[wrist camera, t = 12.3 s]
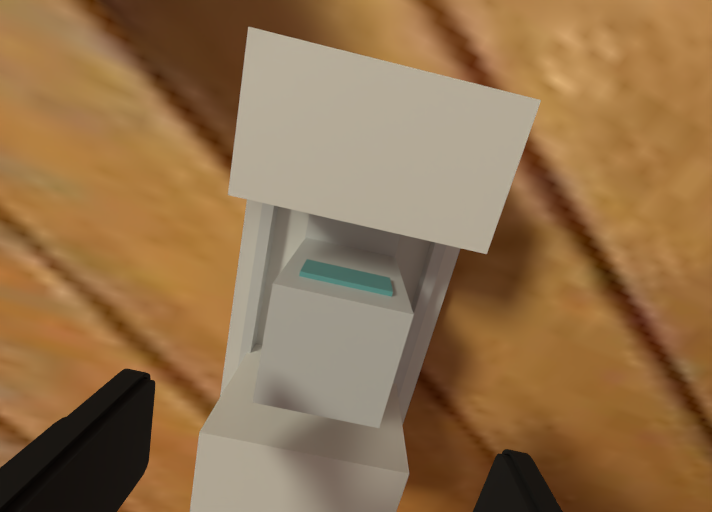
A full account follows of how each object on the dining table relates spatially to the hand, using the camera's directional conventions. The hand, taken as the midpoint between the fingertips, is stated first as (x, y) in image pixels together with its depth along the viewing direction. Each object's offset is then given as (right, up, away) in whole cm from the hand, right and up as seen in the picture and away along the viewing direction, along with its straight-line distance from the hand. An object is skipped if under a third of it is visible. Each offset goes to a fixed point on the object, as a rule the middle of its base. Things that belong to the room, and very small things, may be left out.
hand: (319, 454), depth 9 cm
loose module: (0, +3, +10) cm, 11 cm away
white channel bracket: (0, +4, +11) cm, 12 cm away
